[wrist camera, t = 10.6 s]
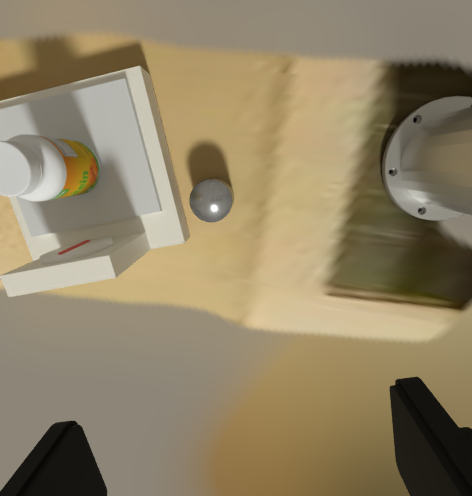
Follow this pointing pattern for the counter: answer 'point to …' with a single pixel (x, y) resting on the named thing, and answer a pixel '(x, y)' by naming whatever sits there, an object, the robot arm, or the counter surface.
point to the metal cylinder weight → (211, 199)
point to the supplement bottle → (46, 168)
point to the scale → (108, 189)
